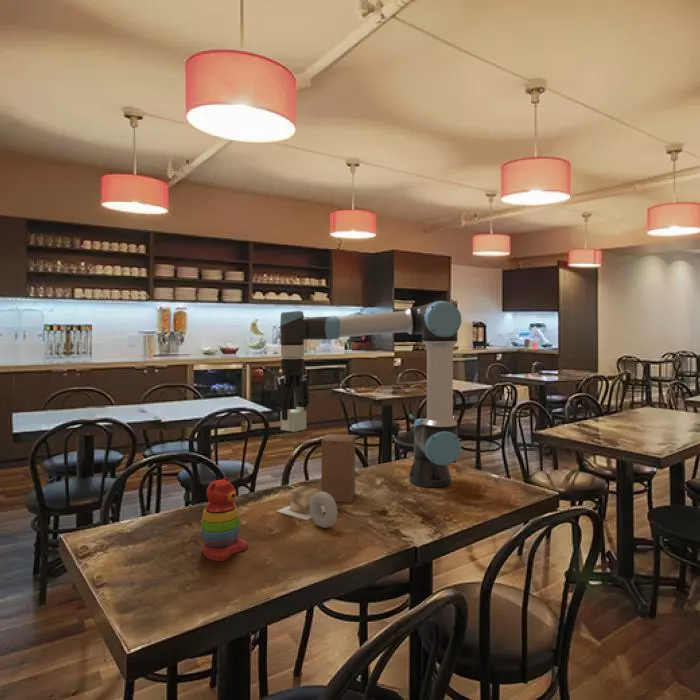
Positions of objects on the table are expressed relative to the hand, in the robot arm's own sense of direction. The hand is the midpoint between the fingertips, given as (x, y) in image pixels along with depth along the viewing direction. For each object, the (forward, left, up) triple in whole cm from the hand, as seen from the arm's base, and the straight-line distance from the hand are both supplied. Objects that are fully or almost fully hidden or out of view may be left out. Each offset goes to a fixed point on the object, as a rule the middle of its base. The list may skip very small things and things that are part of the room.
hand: (293, 427), depth 172 cm
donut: (-25, +15, -23) cm, 37 cm away
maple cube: (-12, +8, -22) cm, 27 cm away
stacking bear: (-14, +42, -23) cm, 50 cm away
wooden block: (-13, -8, -23) cm, 28 cm away
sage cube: (0, 0, 0) cm, 0 cm away
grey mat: (-12, +8, -23) cm, 27 cm away
